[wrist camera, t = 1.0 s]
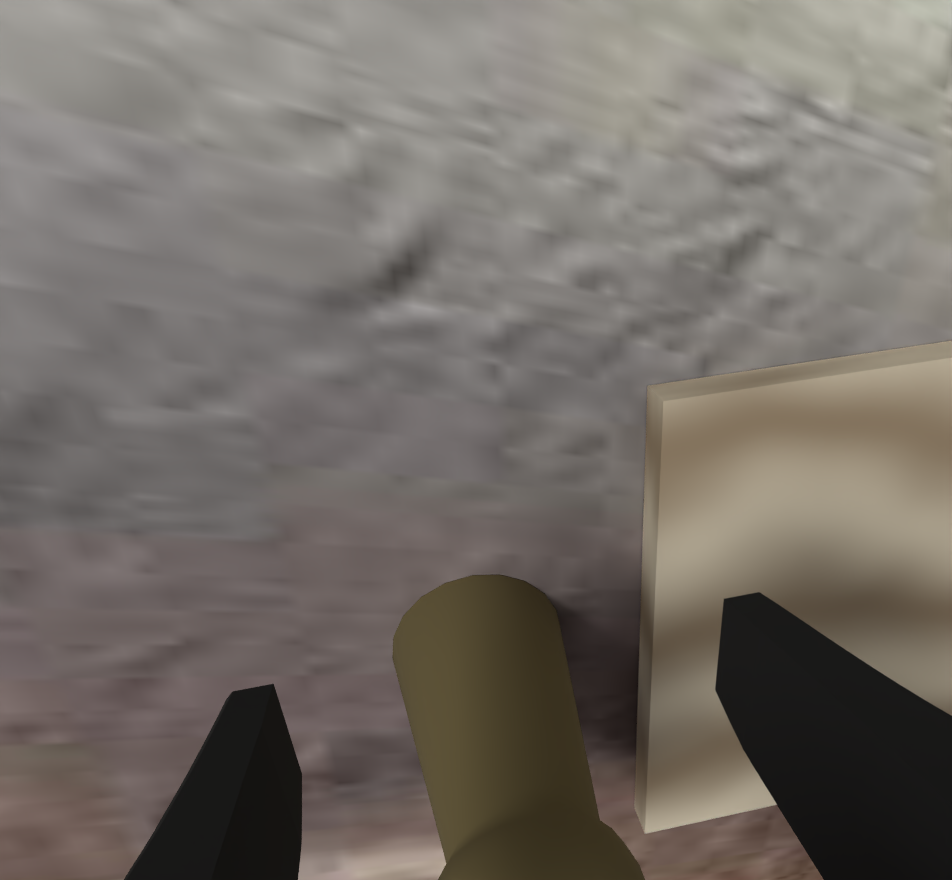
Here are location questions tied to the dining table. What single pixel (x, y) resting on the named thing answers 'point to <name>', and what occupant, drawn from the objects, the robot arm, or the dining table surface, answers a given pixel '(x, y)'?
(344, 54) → the dining table surface
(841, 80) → the dining table surface
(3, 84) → the dining table surface
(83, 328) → the dining table surface
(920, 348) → the birch board
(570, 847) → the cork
